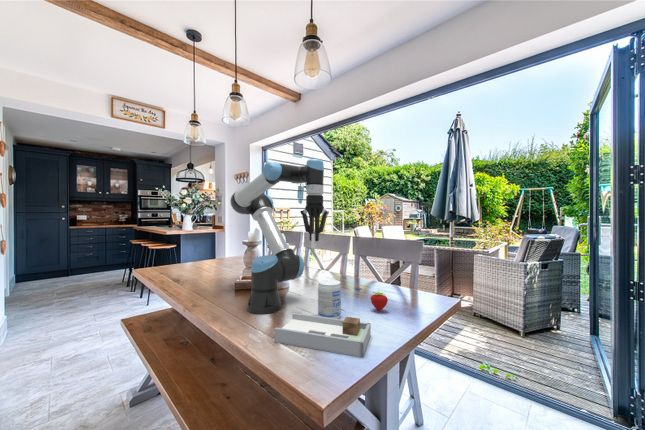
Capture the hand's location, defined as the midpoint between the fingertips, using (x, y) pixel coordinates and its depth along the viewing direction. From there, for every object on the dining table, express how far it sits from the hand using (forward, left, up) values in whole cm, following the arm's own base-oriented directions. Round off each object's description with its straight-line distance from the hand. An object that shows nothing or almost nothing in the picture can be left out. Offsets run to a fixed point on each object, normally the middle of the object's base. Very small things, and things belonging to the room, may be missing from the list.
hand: (314, 248), depth 119 cm
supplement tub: (+8, -4, -28) cm, 30 cm away
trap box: (+12, -23, -28) cm, 38 cm away
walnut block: (+21, -20, -25) cm, 39 cm away
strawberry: (+27, +9, -28) cm, 40 cm away
